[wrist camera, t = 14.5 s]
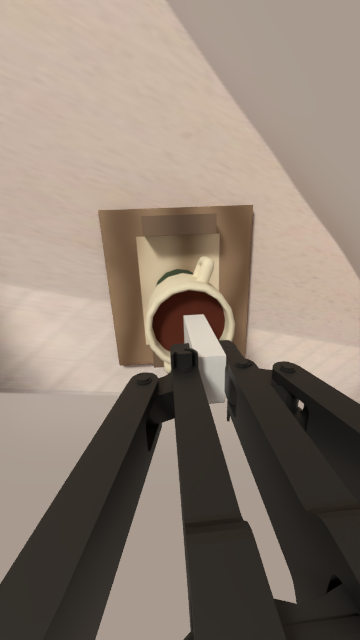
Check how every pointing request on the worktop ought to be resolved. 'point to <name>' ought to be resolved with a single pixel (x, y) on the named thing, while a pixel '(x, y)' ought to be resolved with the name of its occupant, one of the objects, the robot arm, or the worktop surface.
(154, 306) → the character mug
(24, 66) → the worktop surface
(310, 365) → the worktop surface
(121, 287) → the seating jig
